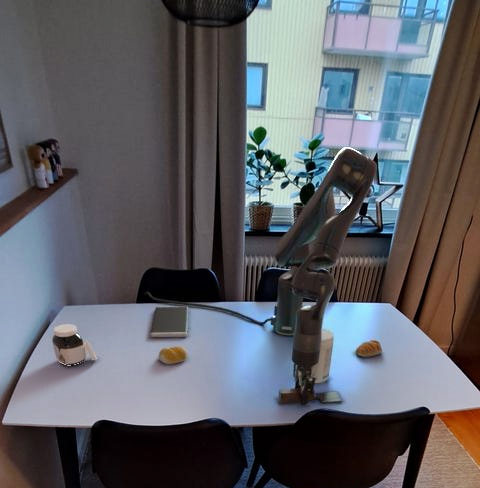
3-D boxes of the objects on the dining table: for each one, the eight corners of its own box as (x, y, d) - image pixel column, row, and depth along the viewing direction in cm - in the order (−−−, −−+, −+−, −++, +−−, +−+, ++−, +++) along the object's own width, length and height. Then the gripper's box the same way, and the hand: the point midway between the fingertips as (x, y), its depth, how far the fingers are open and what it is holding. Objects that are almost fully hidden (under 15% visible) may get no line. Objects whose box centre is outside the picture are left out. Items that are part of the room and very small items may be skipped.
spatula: (281, 406, 136) (282, 396, 134) (277, 396, 140) (278, 386, 138) (341, 402, 139) (343, 392, 137) (335, 393, 143) (337, 383, 141)
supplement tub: (319, 368, 156) (325, 325, 147) (334, 381, 148) (340, 337, 140) (292, 372, 153) (296, 329, 144) (306, 386, 146) (311, 342, 137)
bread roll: (190, 360, 158) (190, 349, 156) (166, 366, 154) (165, 355, 152) (179, 351, 164) (178, 340, 162) (155, 357, 160) (154, 346, 157)
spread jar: (53, 360, 156) (45, 327, 149) (83, 350, 163) (77, 317, 156) (73, 373, 150) (65, 338, 143) (103, 361, 156) (98, 328, 150)
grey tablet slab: (188, 310, 195) (188, 306, 194) (187, 337, 173) (187, 333, 172) (155, 310, 194) (155, 306, 193) (150, 338, 172) (150, 333, 171)
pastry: (365, 360, 161) (367, 350, 159) (350, 353, 165) (351, 343, 163) (382, 353, 166) (385, 342, 164) (367, 346, 170) (369, 336, 168)
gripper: (328, 356, 124) (320, 411, 134) (312, 334, 135) (306, 385, 145) (299, 358, 123) (294, 413, 133) (287, 335, 134) (282, 387, 144)
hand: (300, 398), depth 139 cm, fingers open, 5 cm apart
